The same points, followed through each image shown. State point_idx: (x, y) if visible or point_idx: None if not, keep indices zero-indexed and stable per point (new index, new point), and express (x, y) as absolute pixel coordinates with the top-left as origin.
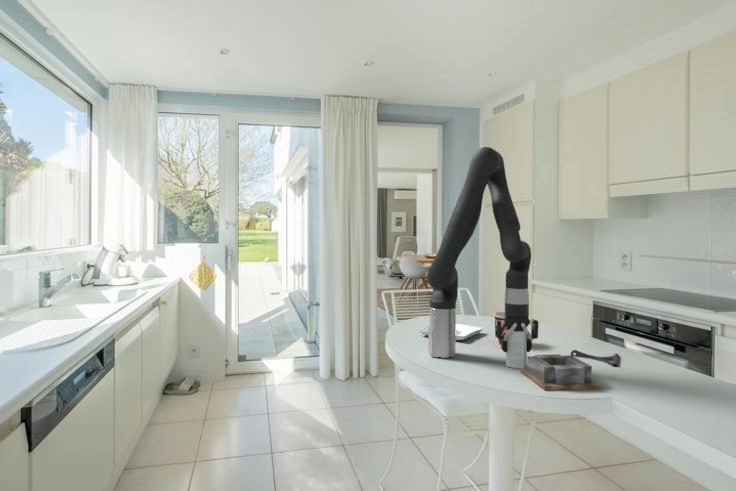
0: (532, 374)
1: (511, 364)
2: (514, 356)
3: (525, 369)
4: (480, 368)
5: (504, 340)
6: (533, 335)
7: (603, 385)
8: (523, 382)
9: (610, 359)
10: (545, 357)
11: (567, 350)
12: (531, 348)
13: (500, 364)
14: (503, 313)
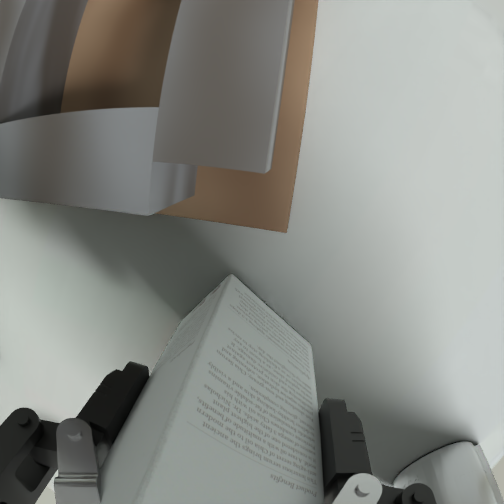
0: (283, 84)
1: (289, 333)
2: (274, 357)
3: (266, 201)
4: (452, 336)
5: (369, 478)
6: (37, 445)
7: None
8: (377, 52)
9: None
10: (98, 110)
11: (7, 391)
12: (108, 376)
13: (315, 378)
14: None
